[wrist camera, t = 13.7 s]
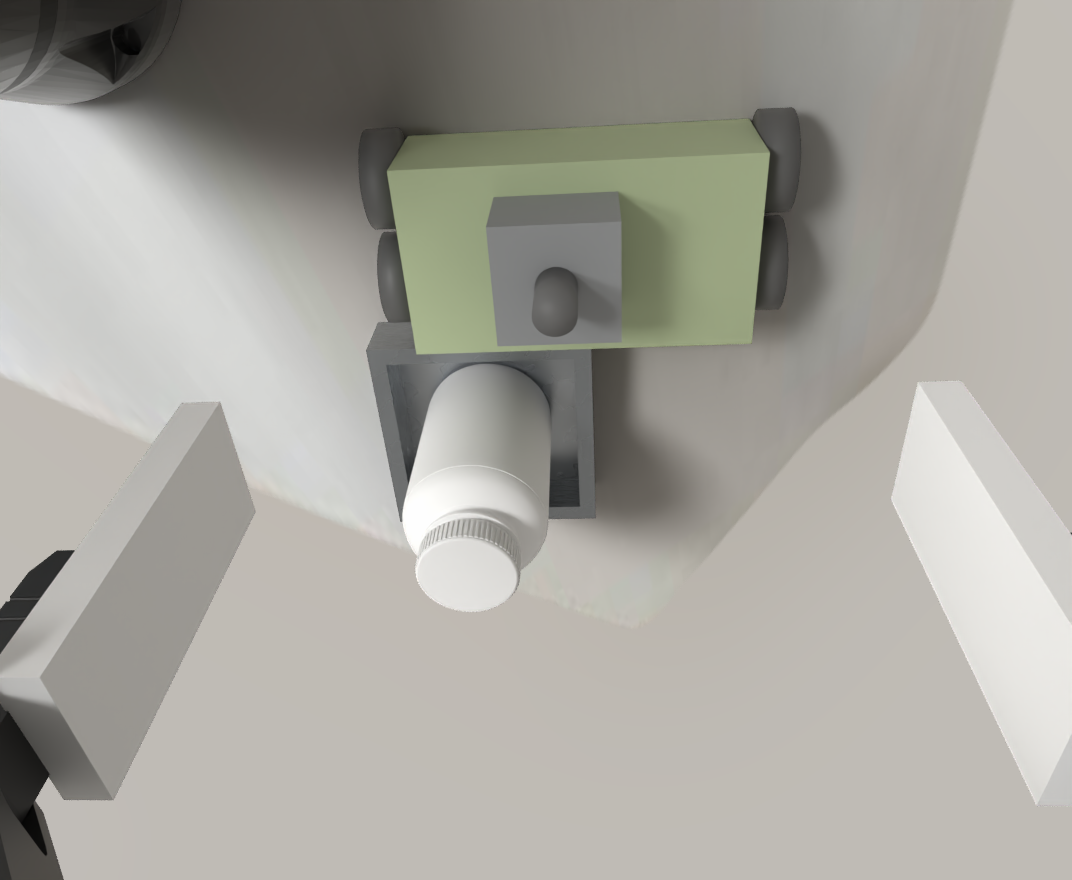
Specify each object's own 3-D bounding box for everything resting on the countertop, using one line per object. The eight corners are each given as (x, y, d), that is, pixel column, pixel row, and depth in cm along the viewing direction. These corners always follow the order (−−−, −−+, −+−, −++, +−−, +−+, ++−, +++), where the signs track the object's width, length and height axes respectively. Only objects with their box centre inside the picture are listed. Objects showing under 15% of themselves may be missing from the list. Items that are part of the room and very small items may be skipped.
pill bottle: (528, 476, 57) (513, 647, 45) (415, 440, 56) (368, 605, 44) (572, 384, 53) (568, 544, 41) (450, 341, 52) (409, 494, 39)
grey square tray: (409, 489, 59) (400, 521, 56) (378, 322, 52) (366, 350, 49) (595, 485, 58) (595, 518, 55) (590, 315, 51) (590, 343, 48)
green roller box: (404, 306, 51) (357, 427, 40) (373, 118, 45) (308, 202, 34) (764, 293, 49) (814, 415, 39) (784, 96, 43) (850, 177, 33)
